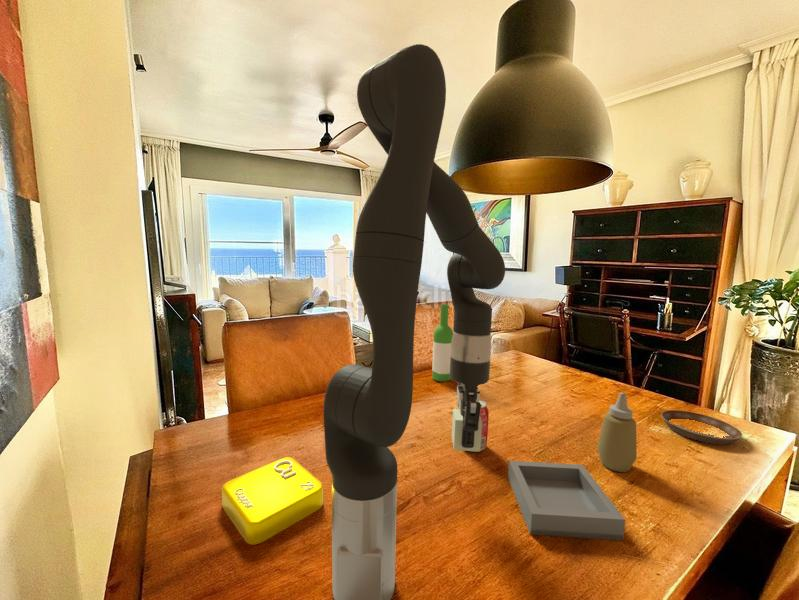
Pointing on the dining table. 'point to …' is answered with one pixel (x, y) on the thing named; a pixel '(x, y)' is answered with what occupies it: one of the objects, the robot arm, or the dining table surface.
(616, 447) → the squeeze bottle
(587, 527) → the bin
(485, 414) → the soda can
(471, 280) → the robot arm
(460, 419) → the sage block
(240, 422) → the dining table surface
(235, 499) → the element tile
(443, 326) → the wine bottle
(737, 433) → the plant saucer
